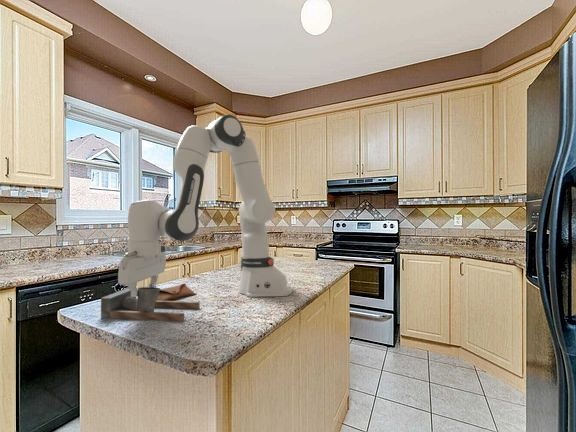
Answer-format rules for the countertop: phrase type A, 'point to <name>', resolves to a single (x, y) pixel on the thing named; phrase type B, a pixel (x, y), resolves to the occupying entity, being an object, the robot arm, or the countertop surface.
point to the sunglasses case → (174, 293)
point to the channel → (114, 309)
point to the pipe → (142, 300)
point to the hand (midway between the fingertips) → (144, 292)
